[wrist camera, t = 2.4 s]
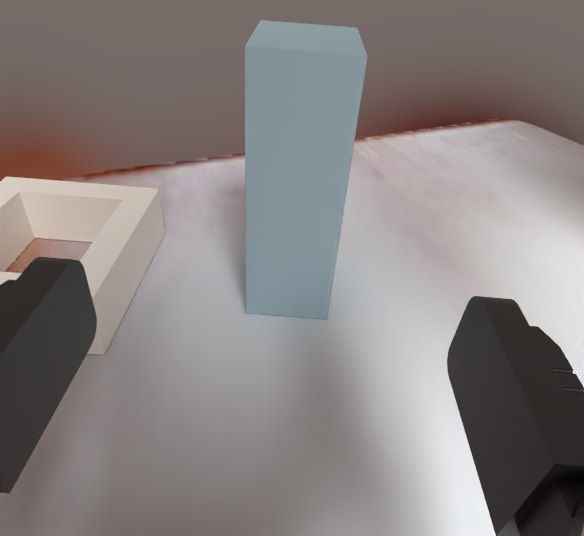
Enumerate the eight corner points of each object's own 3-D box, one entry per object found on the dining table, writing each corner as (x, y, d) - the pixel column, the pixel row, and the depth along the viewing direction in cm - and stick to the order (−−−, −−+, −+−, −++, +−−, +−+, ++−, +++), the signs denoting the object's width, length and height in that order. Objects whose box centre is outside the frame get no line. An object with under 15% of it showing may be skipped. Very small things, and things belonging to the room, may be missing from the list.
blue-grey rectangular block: (325, 259, 26) (356, 27, 18) (326, 319, 22) (367, 56, 14) (256, 253, 26) (260, 20, 18) (245, 313, 22) (245, 46, 14)
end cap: (165, 233, 27) (159, 188, 25) (104, 354, 19) (89, 303, 17) (23, 222, 27) (6, 176, 25) (-94, 339, 19) (-130, 286, 17)
